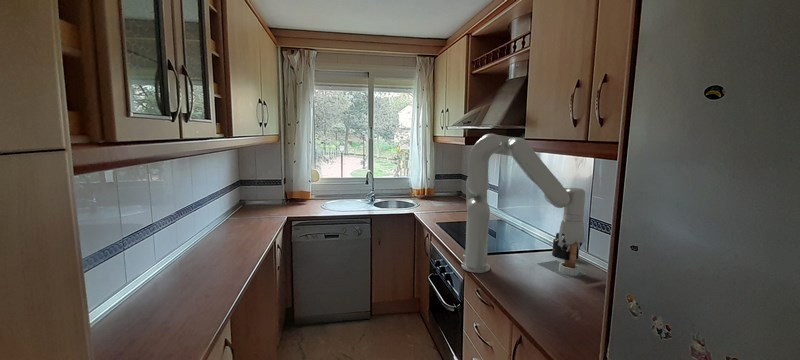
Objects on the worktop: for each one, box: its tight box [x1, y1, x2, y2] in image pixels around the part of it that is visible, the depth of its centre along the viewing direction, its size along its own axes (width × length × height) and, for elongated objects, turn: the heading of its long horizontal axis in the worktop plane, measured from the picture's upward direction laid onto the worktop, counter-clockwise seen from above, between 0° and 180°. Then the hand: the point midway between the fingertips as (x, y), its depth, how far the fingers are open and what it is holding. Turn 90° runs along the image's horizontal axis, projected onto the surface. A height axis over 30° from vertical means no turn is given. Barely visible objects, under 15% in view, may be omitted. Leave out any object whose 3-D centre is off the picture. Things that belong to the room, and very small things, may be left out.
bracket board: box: [536, 260, 588, 279], centre depth 154 cm, size 17×12×4 cm
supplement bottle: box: [551, 232, 563, 259], centre depth 170 cm, size 7×7×12 cm
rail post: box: [563, 241, 577, 268], centre depth 150 cm, size 4×4×12 cm
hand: (570, 258), depth 150 cm, fingers closed on rail post, 4 cm apart
